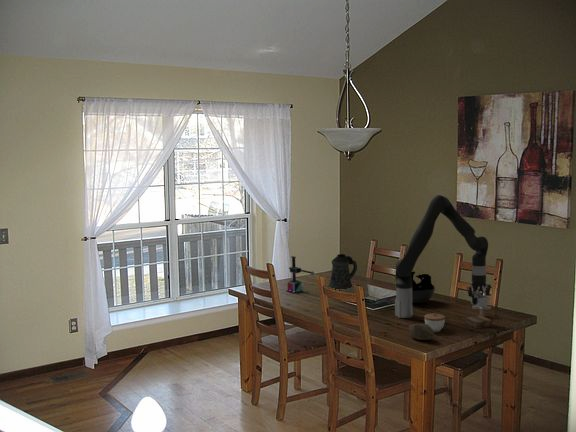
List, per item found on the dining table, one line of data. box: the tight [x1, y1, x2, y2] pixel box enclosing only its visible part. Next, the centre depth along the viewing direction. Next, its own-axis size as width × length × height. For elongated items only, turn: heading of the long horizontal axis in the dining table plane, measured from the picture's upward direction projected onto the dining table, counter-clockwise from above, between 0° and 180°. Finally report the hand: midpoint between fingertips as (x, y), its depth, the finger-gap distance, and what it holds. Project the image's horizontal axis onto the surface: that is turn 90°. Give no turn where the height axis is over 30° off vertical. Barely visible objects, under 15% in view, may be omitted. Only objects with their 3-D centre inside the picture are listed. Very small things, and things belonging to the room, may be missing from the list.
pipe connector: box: [472, 305, 491, 317], centre depth 362 cm, size 10×10×10 cm
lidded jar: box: [424, 312, 446, 333], centre depth 339 cm, size 11×11×9 cm
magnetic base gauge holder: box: [285, 255, 315, 294], centre depth 431 cm, size 25×9×24 cm, turn 39°
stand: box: [463, 315, 495, 329], centre depth 347 cm, size 11×11×3 cm
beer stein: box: [328, 253, 358, 291], centre depth 433 cm, size 16×19×25 cm
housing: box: [470, 292, 488, 307], centre depth 345 cm, size 8×5×6 cm, turn 15°
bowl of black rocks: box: [412, 270, 436, 304], centre depth 394 cm, size 20×20×19 cm
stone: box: [407, 323, 436, 341], centre depth 325 cm, size 17×9×8 cm, turn 40°
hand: (478, 303), depth 346 cm, fingers closed on housing, 5 cm apart
